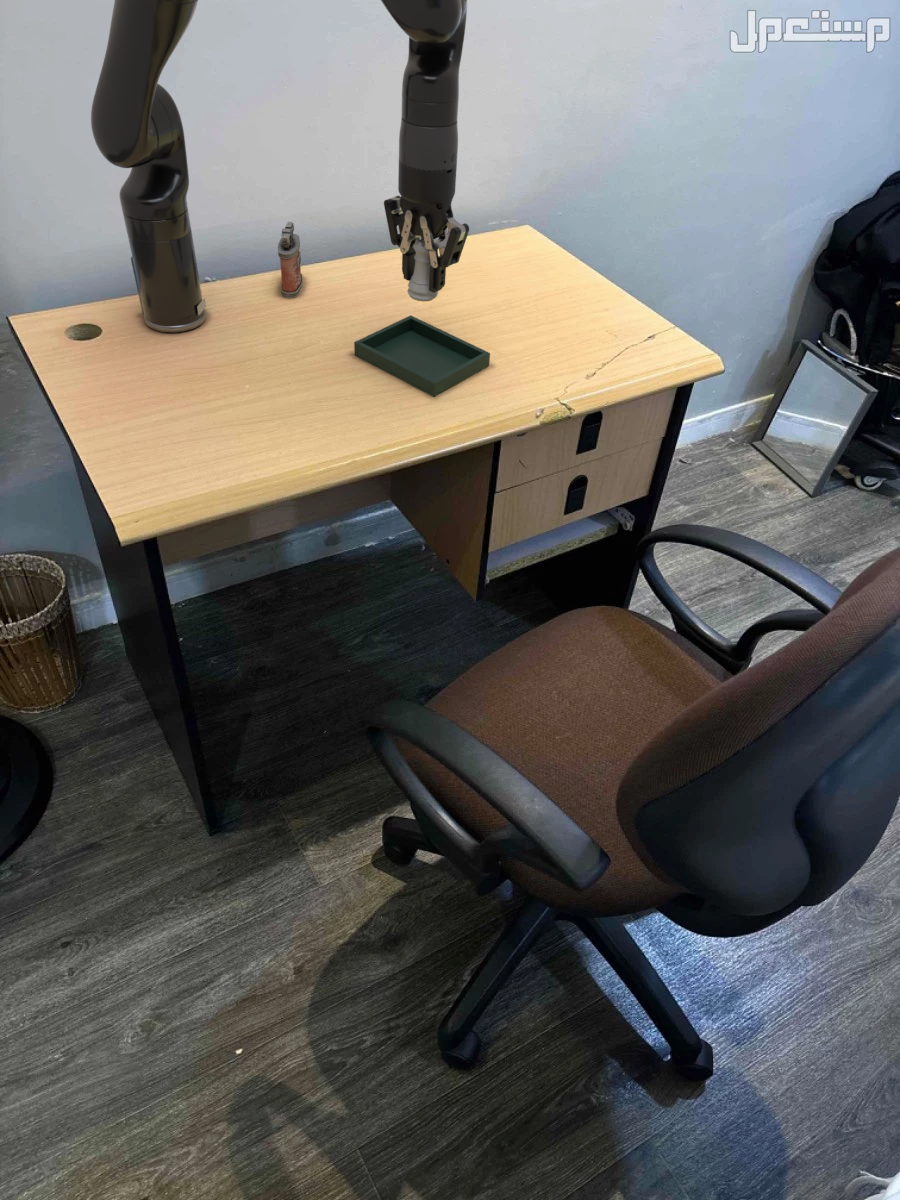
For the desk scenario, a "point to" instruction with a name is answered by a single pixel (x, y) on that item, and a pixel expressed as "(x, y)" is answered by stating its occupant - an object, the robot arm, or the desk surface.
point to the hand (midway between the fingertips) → (423, 283)
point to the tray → (422, 355)
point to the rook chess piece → (421, 274)
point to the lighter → (290, 262)
